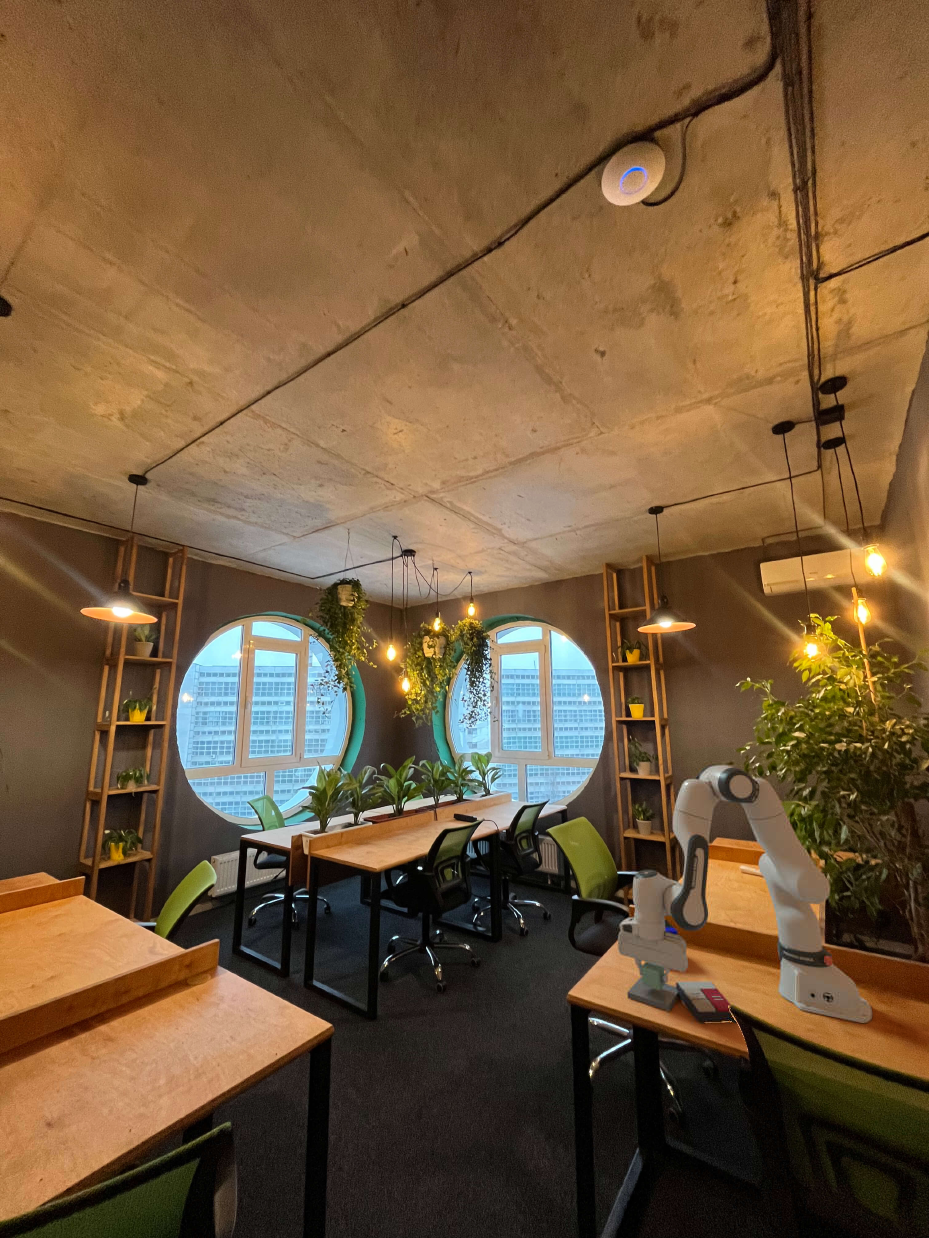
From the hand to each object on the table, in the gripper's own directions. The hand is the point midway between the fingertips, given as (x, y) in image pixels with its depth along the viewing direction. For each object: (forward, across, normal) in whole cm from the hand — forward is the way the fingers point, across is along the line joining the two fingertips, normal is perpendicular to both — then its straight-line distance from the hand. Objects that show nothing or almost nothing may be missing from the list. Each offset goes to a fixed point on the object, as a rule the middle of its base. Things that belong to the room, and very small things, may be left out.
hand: (653, 978), depth 153 cm
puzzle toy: (+5, +7, -27) cm, 28 cm away
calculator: (+5, -14, -2) cm, 15 cm away
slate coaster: (+5, 0, 0) cm, 5 cm away
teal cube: (+2, 0, 0) cm, 2 cm away
